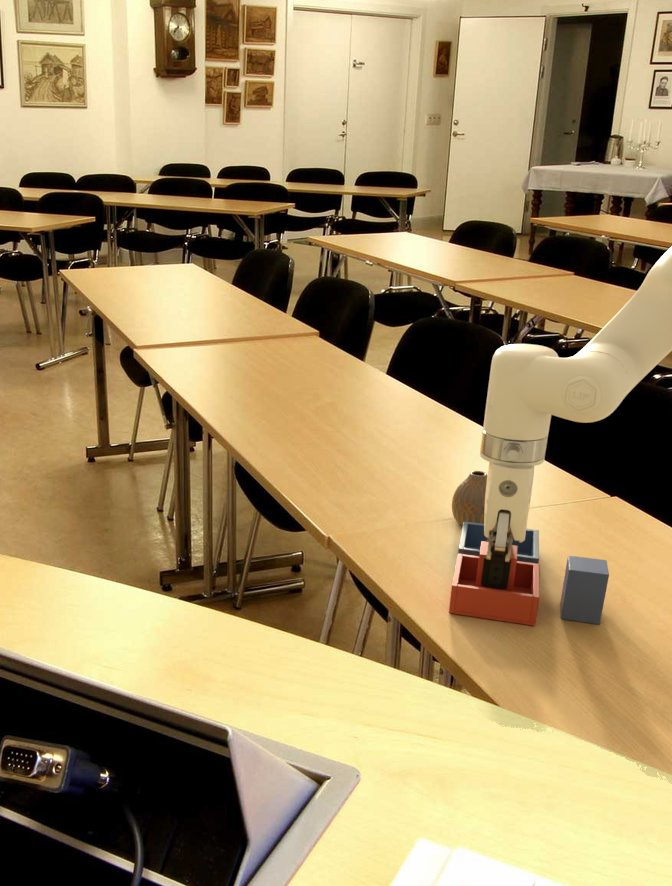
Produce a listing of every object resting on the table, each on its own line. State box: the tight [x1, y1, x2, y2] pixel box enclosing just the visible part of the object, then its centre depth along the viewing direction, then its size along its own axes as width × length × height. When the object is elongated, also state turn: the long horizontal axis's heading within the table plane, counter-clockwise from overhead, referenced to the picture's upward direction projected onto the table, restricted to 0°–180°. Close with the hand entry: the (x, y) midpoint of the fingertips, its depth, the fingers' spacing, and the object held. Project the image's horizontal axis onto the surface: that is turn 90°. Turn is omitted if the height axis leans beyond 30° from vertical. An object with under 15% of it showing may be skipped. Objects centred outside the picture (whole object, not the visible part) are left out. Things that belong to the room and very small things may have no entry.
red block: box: [475, 541, 518, 592], centre depth 119 cm, size 4×4×7 cm
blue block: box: [559, 555, 610, 625], centre depth 116 cm, size 4×4×7 cm
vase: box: [451, 470, 488, 528], centre depth 143 cm, size 7×7×9 cm
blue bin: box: [457, 522, 540, 564], centre depth 130 cm, size 10×10×4 cm
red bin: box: [448, 553, 540, 627], centre depth 120 cm, size 10×10×4 cm
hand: (494, 576), depth 119 cm, fingers open, 4 cm apart
